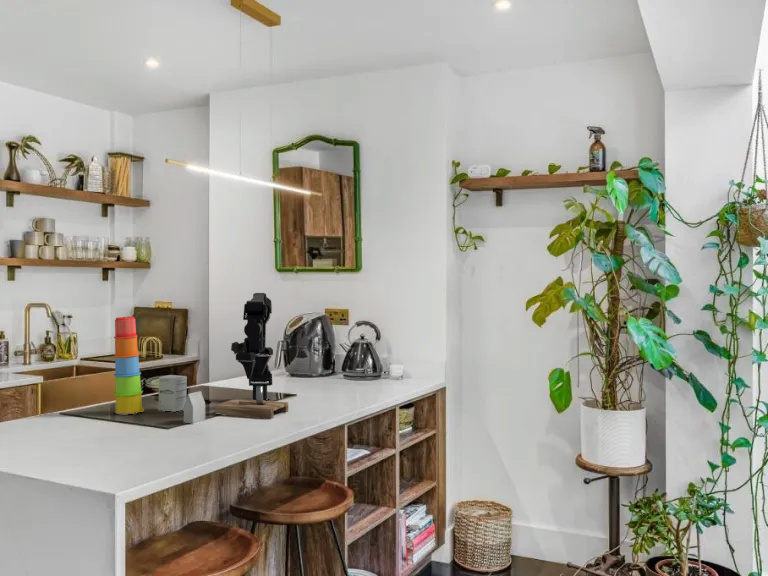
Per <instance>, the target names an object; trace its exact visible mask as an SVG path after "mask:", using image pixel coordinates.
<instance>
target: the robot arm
mask: <svg viewBox="0 0 768 576" xmlns="http://www.w3.org/2000/svg"><path fill="white" fill-rule="evenodd" d="M272 305H273V303H272V300H271V299H270V298H269V297H267V293H265V292H255V293H253V294H252V298H251V299H249V300H247V301H246V302H245V303H244V306H243V315H242V316H243V318H242V319H243V321H247V322H246V324H245V325H244V327H243V328H244V329H243V332H244V334H245V335H246V337H244V339H243V342H241V343H239V342H238V341H234V342H232V343H231V346H230V350H231V351H232V352H233V354H234V355H235V361H237V362H238V363H240V364H241V365H242V366H243V369H244V372H245V375H246V379H247V380H248V386H249V387H252V399H253V400H256V386H263V400H266V399H267V398H268V387H271V386H273V373H272V371H271V370H270V366H269V364H268V363H269V362H270V359H271V358H272V356H274V349H273V348H272V347H270V346H269V347H267V346H266V345H267V344H266V341H267V324H268V322H269V321H270V318H271V315H272V314H273V306H272Z"/></svg>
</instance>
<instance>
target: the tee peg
mask: <svg viewBox="0 0 768 576" xmlns="http://www.w3.org/2000/svg"><path fill="white" fill-rule="evenodd" d="M256 405H263V386H256Z"/></svg>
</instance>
